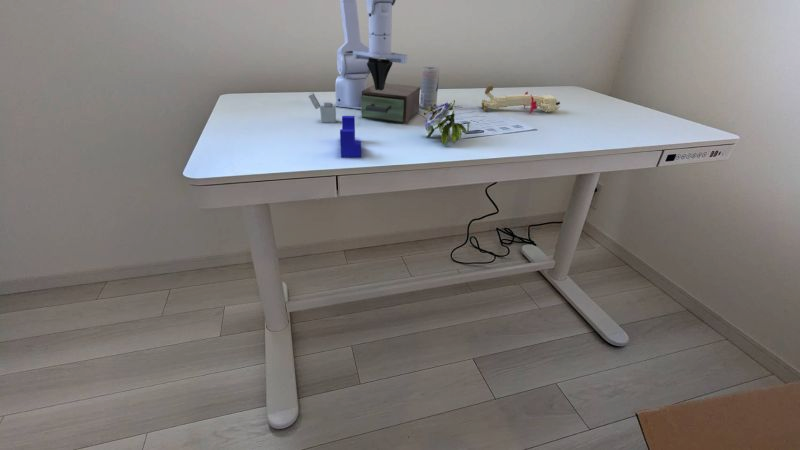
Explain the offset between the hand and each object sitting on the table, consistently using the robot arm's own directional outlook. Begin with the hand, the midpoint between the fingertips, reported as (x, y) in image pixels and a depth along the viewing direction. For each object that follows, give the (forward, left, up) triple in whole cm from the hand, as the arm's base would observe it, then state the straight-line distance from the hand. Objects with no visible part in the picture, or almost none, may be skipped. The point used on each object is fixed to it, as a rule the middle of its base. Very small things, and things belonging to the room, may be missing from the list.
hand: (379, 89), depth 106 cm
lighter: (-15, -5, -10) cm, 19 cm away
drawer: (0, +6, -9) cm, 10 cm away
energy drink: (+8, +24, -10) cm, 27 cm away
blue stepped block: (+1, -21, -10) cm, 23 cm away
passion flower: (+20, -5, -10) cm, 23 cm away
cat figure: (+37, +33, -10) cm, 50 cm away
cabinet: (0, +10, -9) cm, 14 cm away
